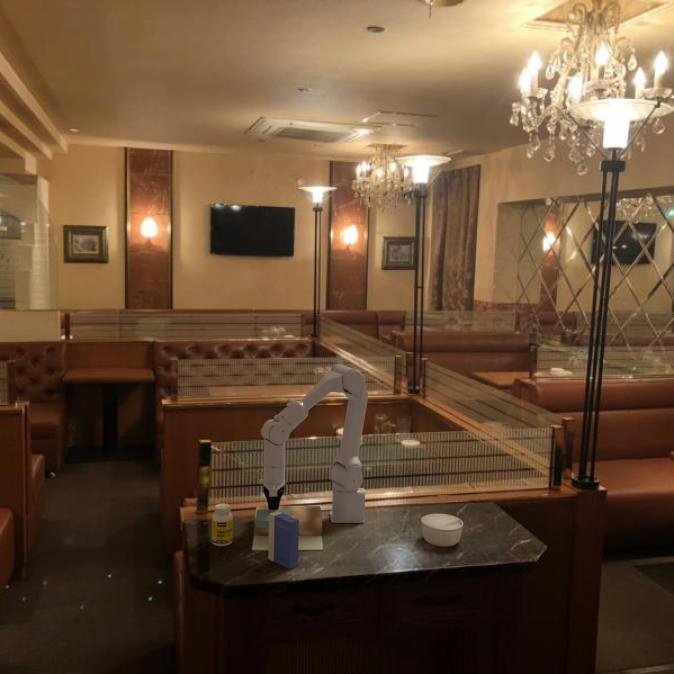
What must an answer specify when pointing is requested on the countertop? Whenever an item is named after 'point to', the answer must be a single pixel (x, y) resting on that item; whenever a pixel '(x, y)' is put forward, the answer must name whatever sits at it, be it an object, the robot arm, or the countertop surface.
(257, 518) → the sage green box
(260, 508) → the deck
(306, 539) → the mat
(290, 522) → the walkman
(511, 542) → the countertop surface
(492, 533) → the countertop surface
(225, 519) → the supplement bottle
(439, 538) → the ramekin
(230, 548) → the countertop surface
